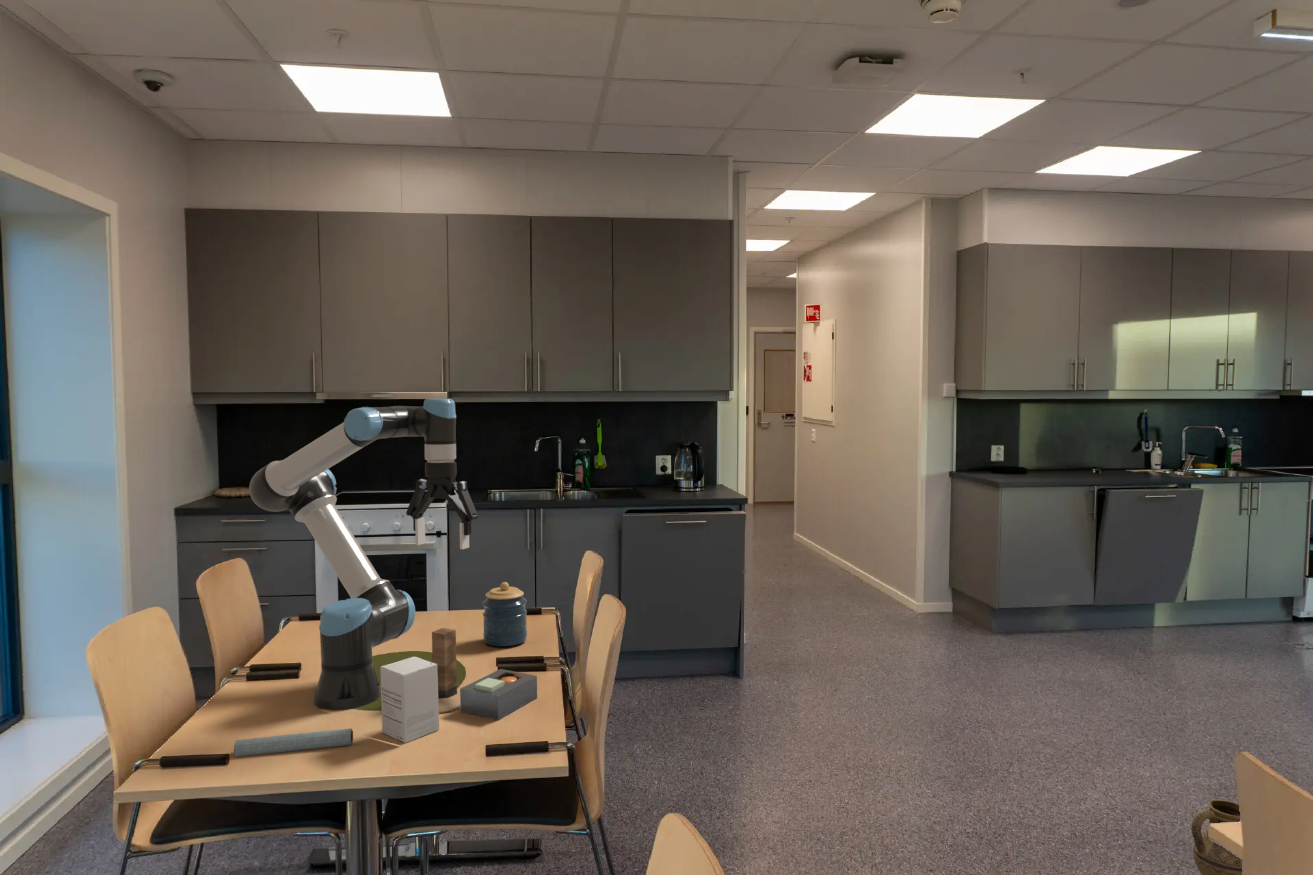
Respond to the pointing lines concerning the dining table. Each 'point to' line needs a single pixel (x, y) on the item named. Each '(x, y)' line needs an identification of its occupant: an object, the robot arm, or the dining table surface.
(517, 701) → the grey slotted holder
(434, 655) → the walnut bar
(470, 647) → the dining table surface
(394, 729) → the supplement box
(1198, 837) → the decorative pitcher
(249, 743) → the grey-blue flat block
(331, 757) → the dining table surface
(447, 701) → the coaster
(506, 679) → the plunger
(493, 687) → the on button
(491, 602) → the canister
